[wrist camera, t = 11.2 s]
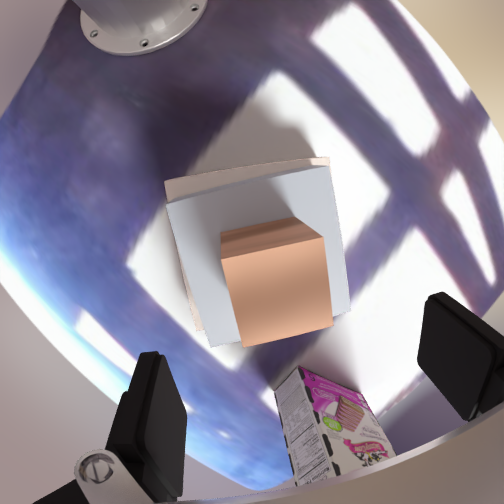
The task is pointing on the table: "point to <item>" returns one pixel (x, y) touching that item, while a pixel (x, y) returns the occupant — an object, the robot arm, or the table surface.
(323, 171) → the tower top
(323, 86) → the table surface
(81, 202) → the table surface
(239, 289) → the terracotta block
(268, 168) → the tower base
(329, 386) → the candy bar box
